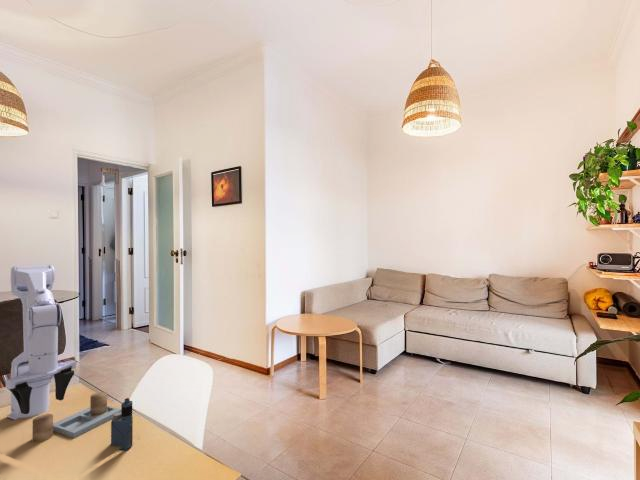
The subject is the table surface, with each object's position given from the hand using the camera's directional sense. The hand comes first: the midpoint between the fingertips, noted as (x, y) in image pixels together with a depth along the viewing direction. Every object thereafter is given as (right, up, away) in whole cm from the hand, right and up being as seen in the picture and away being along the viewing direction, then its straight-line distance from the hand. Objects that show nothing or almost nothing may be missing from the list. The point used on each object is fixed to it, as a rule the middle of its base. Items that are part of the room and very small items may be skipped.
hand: (43, 406), depth 84 cm
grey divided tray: (+6, -9, +8) cm, 13 cm away
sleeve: (0, -9, 0) cm, 9 cm away
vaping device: (+22, -9, -3) cm, 24 cm away
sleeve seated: (+7, -8, +11) cm, 15 cm away
